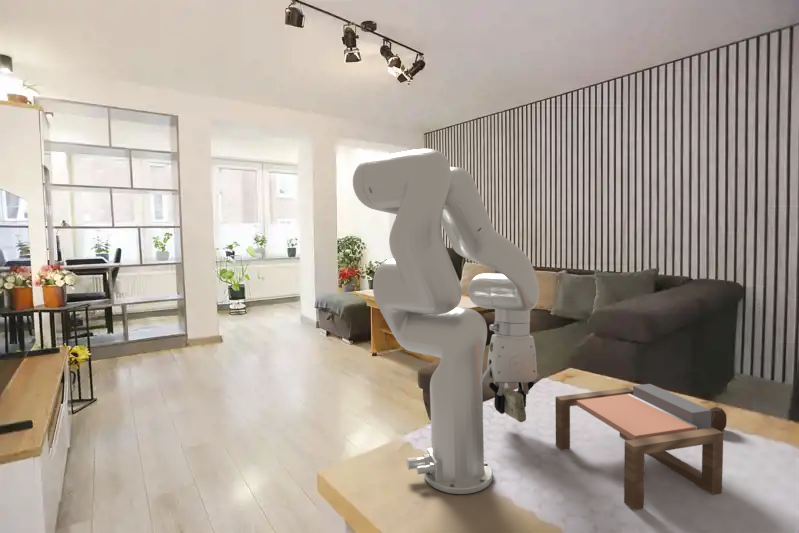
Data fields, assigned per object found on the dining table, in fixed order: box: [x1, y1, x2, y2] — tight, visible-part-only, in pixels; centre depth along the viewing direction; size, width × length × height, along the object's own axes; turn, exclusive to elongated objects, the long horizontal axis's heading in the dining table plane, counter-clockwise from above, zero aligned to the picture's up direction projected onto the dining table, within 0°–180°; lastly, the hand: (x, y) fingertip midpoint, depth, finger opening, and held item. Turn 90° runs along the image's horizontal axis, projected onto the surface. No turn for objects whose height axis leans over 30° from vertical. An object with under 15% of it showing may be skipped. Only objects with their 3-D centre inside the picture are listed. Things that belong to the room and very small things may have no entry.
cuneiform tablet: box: [503, 383, 527, 423], centre depth 99 cm, size 7×4×12 cm
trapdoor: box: [576, 383, 711, 440], centre depth 83 cm, size 16×16×5 cm
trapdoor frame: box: [555, 387, 724, 511], centre depth 82 cm, size 17×22×10 cm
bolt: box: [709, 406, 728, 432], centre depth 102 cm, size 6×5×15 cm
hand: (510, 410), depth 98 cm, fingers closed on cuneiform tablet, 4 cm apart
